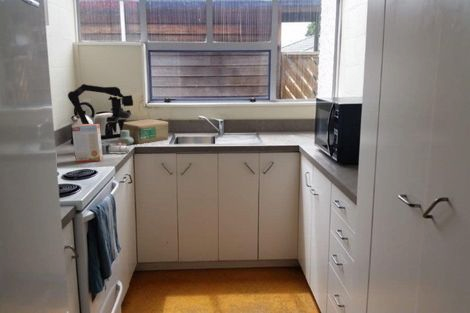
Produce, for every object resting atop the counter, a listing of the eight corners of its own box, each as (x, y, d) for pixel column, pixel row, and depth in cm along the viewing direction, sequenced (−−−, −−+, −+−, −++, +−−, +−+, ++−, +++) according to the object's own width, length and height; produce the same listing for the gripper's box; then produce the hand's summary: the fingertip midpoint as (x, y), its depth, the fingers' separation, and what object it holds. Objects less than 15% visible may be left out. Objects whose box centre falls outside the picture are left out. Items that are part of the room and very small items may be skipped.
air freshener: (135, 143, 290) (134, 129, 288) (132, 145, 282) (131, 131, 280) (119, 144, 291) (118, 130, 288) (116, 146, 282) (115, 131, 280)
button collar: (111, 150, 269) (111, 145, 268) (116, 148, 276) (116, 143, 275) (122, 150, 268) (121, 145, 267) (126, 148, 274) (126, 143, 274)
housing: (95, 154, 256) (95, 145, 255) (102, 151, 264) (101, 143, 263) (105, 154, 255) (104, 145, 254) (110, 151, 263) (110, 143, 262)
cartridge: (108, 153, 257) (108, 146, 256) (111, 151, 261) (111, 144, 260) (127, 153, 255) (126, 146, 254) (129, 151, 259) (129, 144, 258)
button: (116, 149, 270) (115, 143, 270) (118, 148, 273) (117, 142, 273) (120, 149, 270) (119, 143, 269) (122, 148, 273) (121, 142, 272)
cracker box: (103, 159, 242) (99, 123, 237) (100, 161, 236) (96, 124, 231) (78, 160, 241) (75, 124, 237) (75, 162, 235) (71, 125, 231)
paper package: (138, 145, 286) (137, 124, 283) (119, 141, 304) (117, 122, 301) (170, 139, 304) (169, 120, 302) (150, 136, 322) (149, 118, 320)
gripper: (122, 108, 254) (124, 133, 258) (134, 105, 272) (136, 129, 276) (105, 108, 256) (107, 133, 260) (118, 105, 274) (120, 129, 278)
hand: (118, 131), depth 268 cm, fingers open, 9 cm apart
